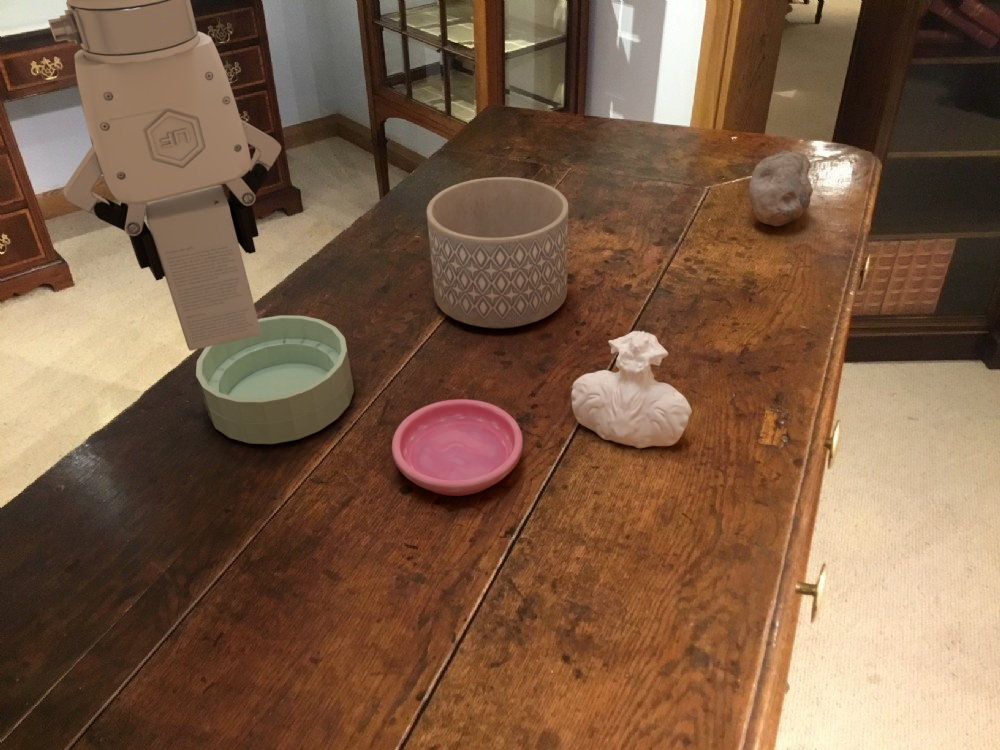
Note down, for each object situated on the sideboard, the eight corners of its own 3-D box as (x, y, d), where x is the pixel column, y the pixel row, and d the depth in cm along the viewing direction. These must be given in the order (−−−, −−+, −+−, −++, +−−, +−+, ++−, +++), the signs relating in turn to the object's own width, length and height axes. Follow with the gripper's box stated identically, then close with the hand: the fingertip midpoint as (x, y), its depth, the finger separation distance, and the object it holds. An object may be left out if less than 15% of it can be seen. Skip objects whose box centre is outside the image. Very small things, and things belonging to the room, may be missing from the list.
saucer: (512, 415, 88) (511, 391, 86) (533, 500, 78) (533, 475, 76) (392, 429, 87) (389, 405, 85) (398, 517, 77) (394, 492, 75)
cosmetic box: (255, 311, 74) (224, 183, 67) (262, 336, 71) (230, 205, 64) (183, 326, 73) (143, 196, 66) (187, 353, 70) (145, 220, 62)
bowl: (236, 468, 83) (221, 421, 79) (193, 389, 94) (178, 344, 90) (377, 413, 89) (370, 367, 86) (322, 344, 100) (313, 300, 96)
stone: (821, 202, 125) (835, 136, 119) (795, 244, 115) (809, 174, 109) (762, 190, 128) (772, 126, 122) (732, 230, 118) (742, 162, 112)
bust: (686, 457, 85) (711, 347, 85) (676, 461, 78) (703, 341, 78) (573, 428, 89) (596, 324, 89) (553, 430, 82) (579, 316, 82)
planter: (419, 282, 110) (409, 191, 103) (535, 256, 115) (535, 167, 107) (460, 350, 98) (452, 252, 90) (589, 318, 102) (592, 222, 95)
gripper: (2, 63, 51) (98, 314, 62) (279, 14, 58) (321, 248, 69) (-11, 35, 56) (80, 271, 67) (245, -7, 63) (289, 213, 74)
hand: (201, 257), depth 68 cm, fingers closed on cosmetic box, 6 cm apart
